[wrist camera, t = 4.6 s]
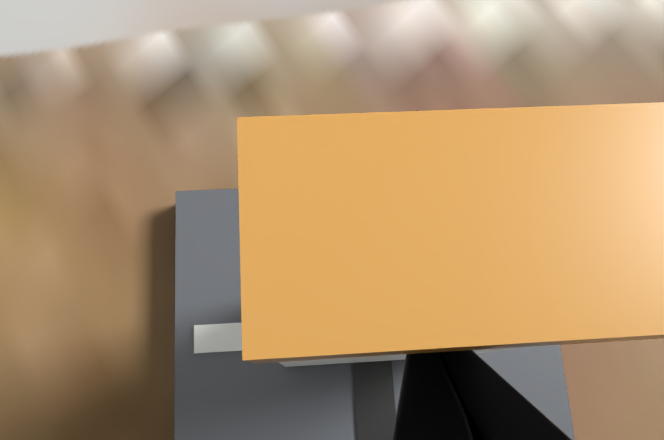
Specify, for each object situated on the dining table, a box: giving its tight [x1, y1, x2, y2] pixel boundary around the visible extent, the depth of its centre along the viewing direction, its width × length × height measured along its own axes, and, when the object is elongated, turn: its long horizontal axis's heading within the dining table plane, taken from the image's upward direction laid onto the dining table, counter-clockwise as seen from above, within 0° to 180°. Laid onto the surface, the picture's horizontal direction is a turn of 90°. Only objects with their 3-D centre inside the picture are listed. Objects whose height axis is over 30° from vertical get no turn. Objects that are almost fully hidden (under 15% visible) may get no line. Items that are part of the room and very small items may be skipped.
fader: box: [237, 102, 664, 367], centre depth 10 cm, size 2×5×10 cm, turn 94°
